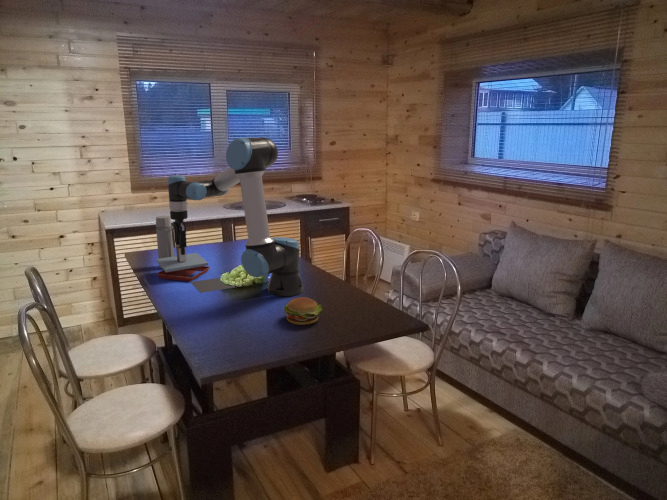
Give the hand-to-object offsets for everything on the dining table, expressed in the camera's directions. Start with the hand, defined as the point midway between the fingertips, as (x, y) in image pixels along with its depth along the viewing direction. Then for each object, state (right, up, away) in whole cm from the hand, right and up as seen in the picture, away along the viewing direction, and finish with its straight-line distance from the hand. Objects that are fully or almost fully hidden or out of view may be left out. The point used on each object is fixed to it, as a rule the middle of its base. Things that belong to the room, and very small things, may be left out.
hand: (181, 259), depth 233 cm
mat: (+18, -11, -12) cm, 24 cm away
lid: (0, -2, +1) cm, 2 cm away
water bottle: (-11, -4, +14) cm, 18 cm away
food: (+59, -21, -47) cm, 79 cm away
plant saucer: (+1, -8, +1) cm, 8 cm away
